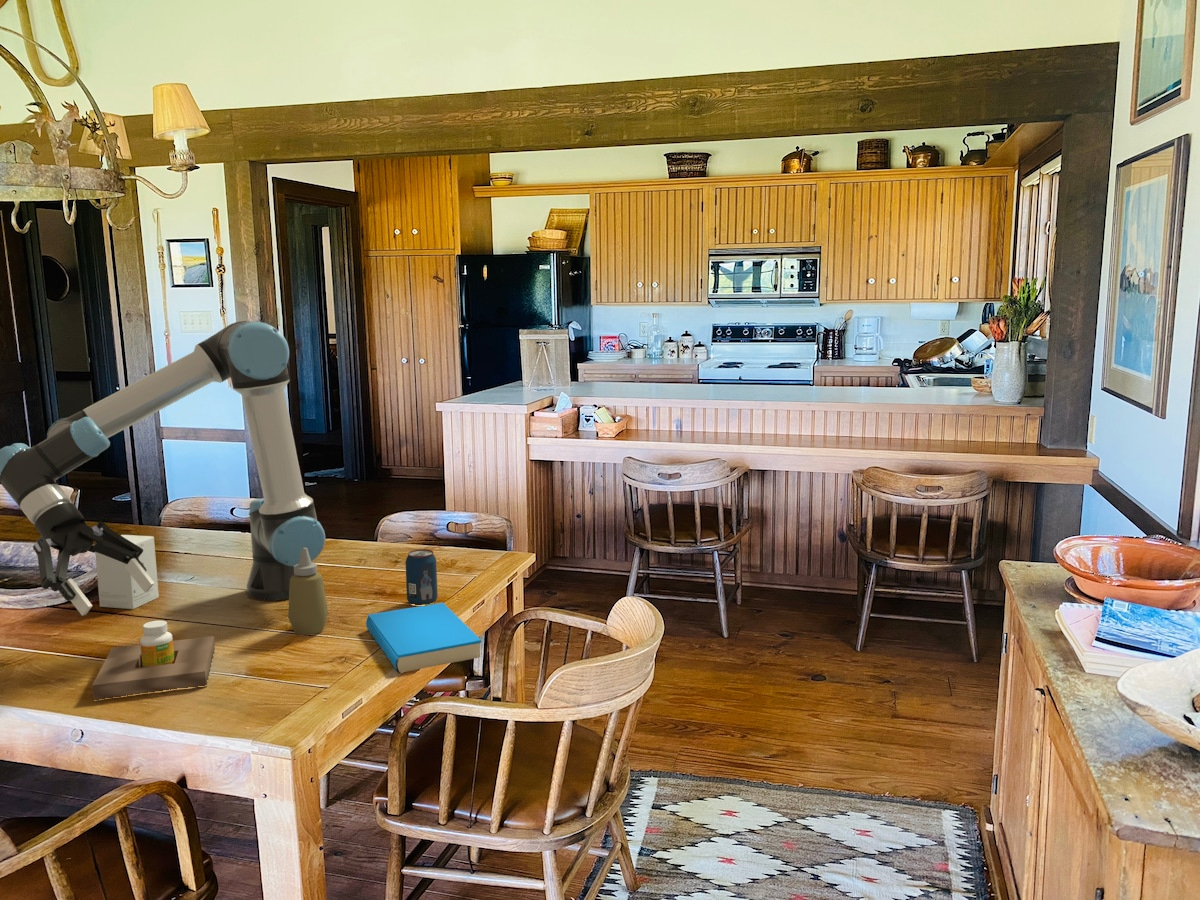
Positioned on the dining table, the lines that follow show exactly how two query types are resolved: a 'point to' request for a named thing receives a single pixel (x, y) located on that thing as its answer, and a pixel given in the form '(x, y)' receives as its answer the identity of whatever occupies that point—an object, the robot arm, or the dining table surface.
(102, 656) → the dining table surface
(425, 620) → the book
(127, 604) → the supplement box
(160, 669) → the socket stand
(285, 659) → the dining table surface
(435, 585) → the soda can
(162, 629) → the supplement bottle
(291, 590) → the squeeze bottle
